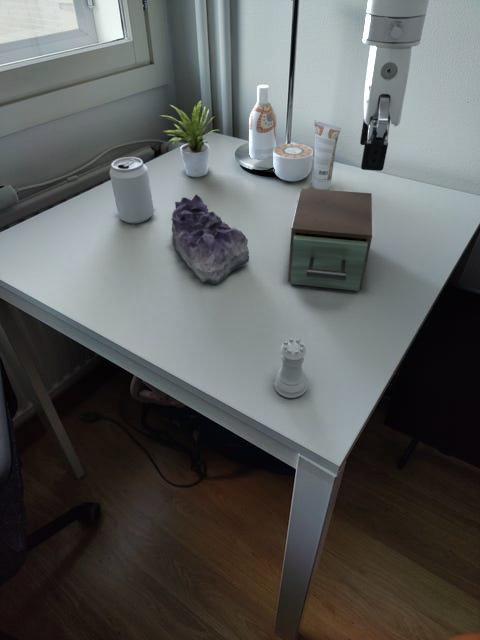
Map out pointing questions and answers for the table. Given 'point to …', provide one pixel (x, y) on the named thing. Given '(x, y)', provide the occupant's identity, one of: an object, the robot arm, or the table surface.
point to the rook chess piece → (291, 370)
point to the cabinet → (333, 217)
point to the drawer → (328, 261)
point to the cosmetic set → (291, 146)
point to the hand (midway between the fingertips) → (370, 156)
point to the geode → (207, 241)
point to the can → (131, 189)
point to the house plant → (193, 142)
